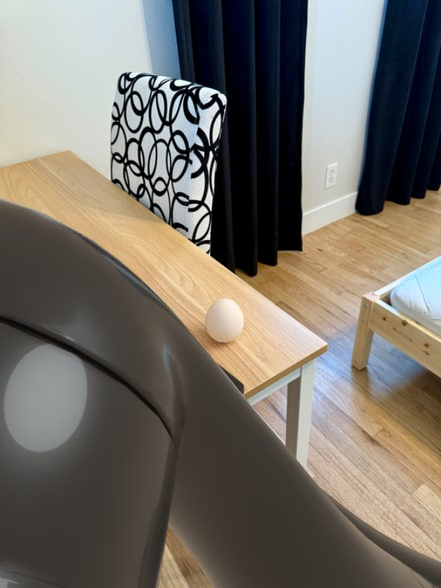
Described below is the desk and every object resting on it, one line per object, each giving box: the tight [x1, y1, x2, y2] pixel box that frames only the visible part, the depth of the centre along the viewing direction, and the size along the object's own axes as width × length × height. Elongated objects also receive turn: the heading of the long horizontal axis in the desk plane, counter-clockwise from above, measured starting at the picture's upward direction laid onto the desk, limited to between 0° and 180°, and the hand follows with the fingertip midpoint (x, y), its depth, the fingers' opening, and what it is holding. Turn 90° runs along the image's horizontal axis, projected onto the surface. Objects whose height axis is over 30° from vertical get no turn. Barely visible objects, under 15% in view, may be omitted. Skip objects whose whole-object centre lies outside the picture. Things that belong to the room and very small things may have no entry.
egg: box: [204, 297, 245, 344], centre depth 67 cm, size 6×6×8 cm
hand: (126, 377), depth 44 cm, fingers open, 8 cm apart
